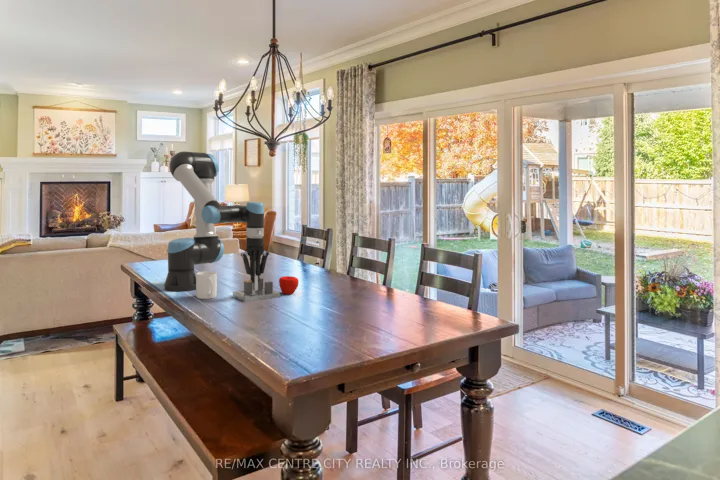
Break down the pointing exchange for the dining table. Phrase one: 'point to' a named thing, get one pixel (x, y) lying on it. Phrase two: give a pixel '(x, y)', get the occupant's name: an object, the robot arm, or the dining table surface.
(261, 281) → the block
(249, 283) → the block
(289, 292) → the apple
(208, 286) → the mug
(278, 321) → the dining table surface
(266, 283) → the breaker
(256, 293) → the panel
